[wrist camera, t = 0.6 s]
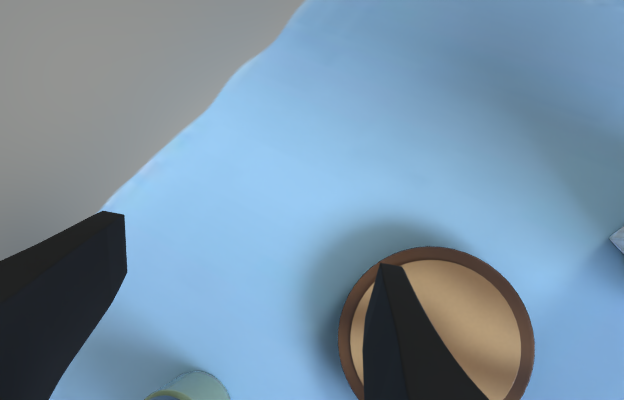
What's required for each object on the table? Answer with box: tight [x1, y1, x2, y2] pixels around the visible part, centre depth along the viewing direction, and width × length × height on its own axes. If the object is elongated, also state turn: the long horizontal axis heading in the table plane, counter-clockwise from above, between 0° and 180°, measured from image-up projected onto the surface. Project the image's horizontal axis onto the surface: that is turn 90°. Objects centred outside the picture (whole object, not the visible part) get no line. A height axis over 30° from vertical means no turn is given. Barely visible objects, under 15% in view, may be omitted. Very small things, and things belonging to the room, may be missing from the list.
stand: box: [338, 246, 535, 400], centre depth 35 cm, size 13×13×2 cm
